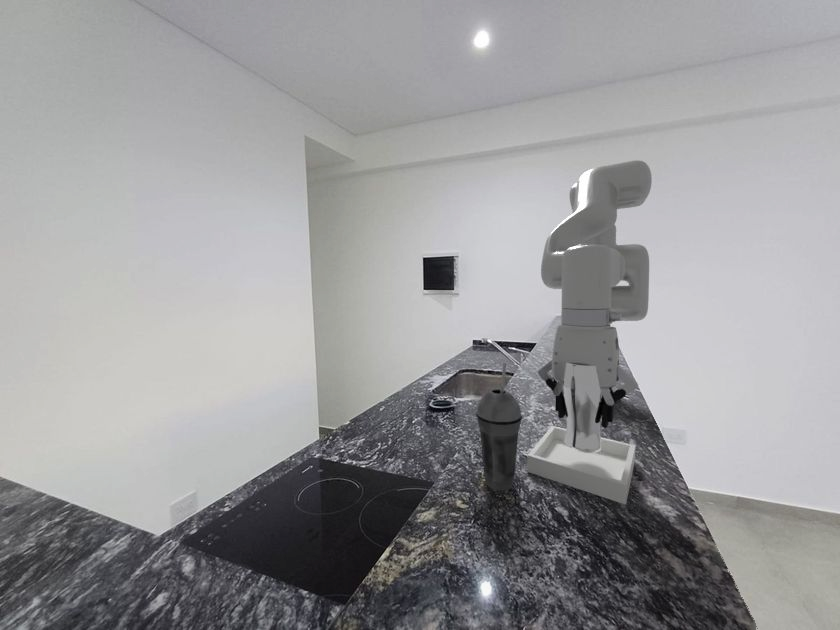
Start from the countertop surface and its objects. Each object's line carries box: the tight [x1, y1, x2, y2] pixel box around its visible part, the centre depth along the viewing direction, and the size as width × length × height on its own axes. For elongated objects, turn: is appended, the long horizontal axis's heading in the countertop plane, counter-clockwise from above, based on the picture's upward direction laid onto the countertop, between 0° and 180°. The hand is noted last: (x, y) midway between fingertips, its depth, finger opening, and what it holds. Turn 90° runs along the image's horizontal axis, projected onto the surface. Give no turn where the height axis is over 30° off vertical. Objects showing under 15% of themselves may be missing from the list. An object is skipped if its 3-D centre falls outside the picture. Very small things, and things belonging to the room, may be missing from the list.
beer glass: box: [562, 362, 605, 453], centre depth 56 cm, size 7×7×15 cm
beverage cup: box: [475, 362, 523, 492], centre depth 53 cm, size 7×7×20 cm
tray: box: [526, 425, 636, 505], centre depth 57 cm, size 15×15×3 cm
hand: (583, 419), depth 57 cm, fingers closed on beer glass, 6 cm apart
